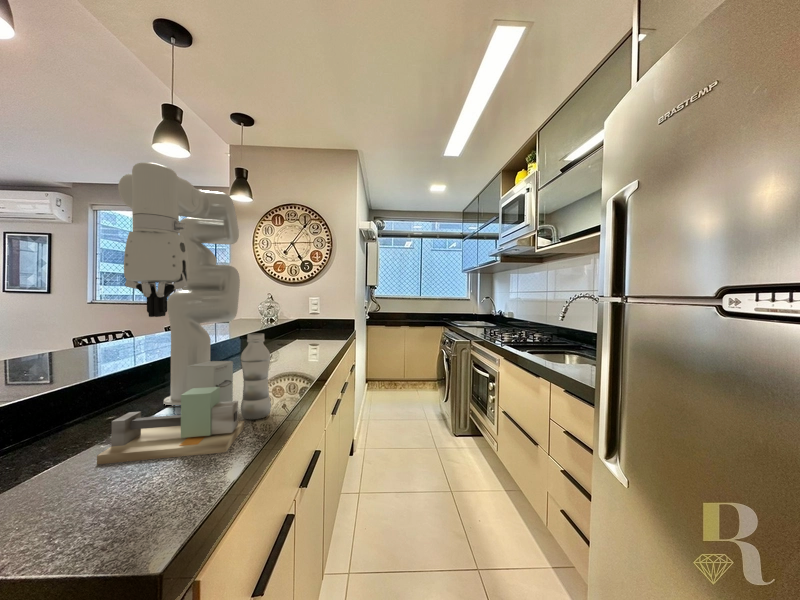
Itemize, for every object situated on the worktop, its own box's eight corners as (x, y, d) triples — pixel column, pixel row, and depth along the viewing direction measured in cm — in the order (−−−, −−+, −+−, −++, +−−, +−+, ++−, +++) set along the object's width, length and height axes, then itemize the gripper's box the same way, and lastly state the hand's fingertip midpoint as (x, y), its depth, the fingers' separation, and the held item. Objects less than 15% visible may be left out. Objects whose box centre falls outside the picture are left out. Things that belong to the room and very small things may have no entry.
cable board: (139, 436, 65) (140, 401, 65) (244, 427, 69) (244, 395, 69) (96, 464, 53) (97, 422, 53) (225, 452, 57) (225, 413, 57)
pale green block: (192, 427, 64) (192, 388, 64) (219, 425, 65) (219, 386, 65) (180, 437, 59) (181, 395, 59) (210, 435, 60) (210, 393, 60)
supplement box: (213, 419, 74) (213, 365, 75) (185, 418, 75) (185, 365, 76) (233, 409, 82) (233, 360, 82) (207, 408, 83) (207, 360, 83)
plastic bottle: (260, 423, 71) (260, 335, 72) (233, 421, 73) (234, 335, 73) (276, 414, 78) (276, 333, 78) (252, 412, 79) (252, 332, 79)
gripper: (203, 232, 70) (204, 314, 70) (126, 229, 67) (127, 315, 67) (188, 225, 63) (189, 317, 63) (100, 221, 59) (101, 318, 60)
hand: (157, 316), depth 65 cm, fingers closed
